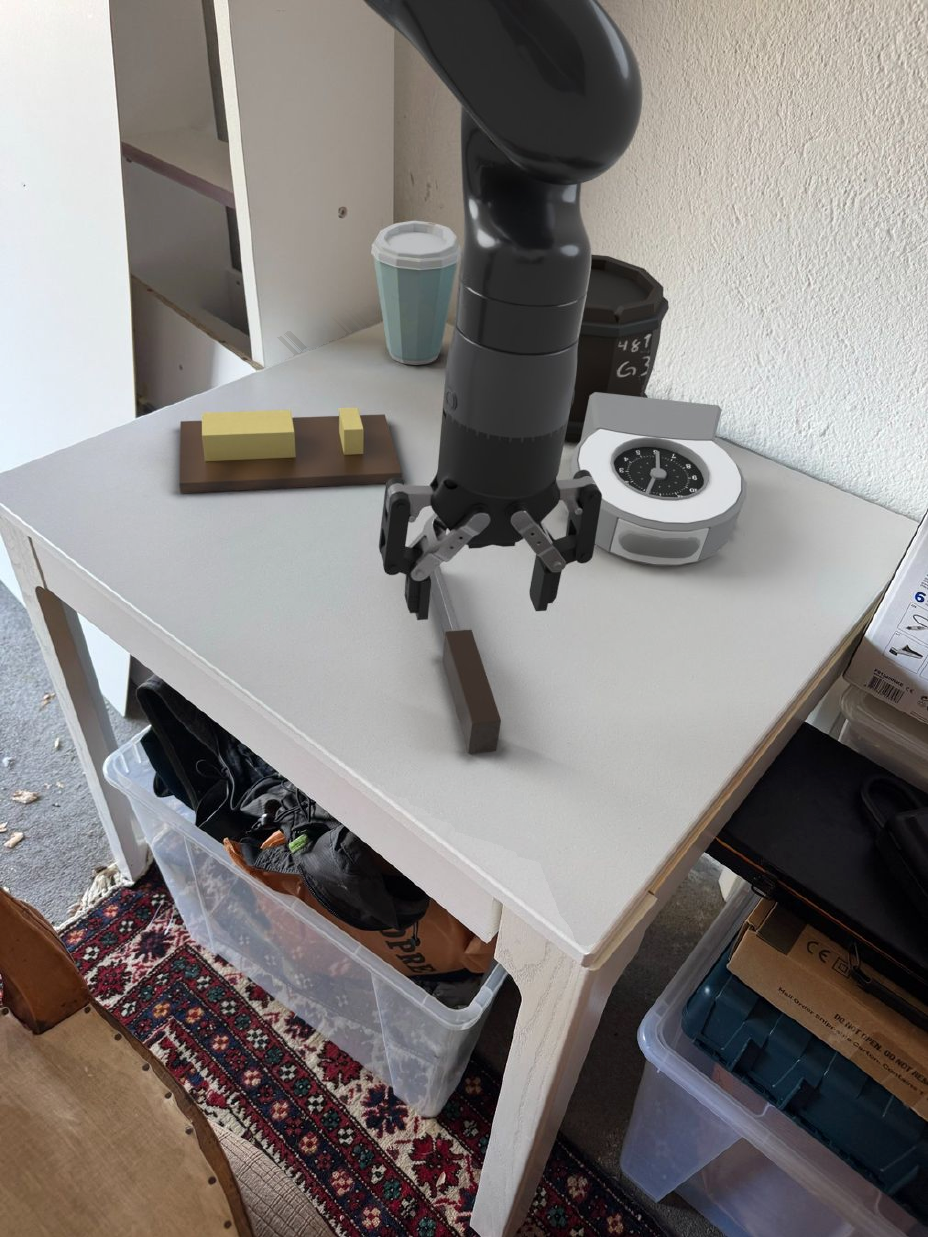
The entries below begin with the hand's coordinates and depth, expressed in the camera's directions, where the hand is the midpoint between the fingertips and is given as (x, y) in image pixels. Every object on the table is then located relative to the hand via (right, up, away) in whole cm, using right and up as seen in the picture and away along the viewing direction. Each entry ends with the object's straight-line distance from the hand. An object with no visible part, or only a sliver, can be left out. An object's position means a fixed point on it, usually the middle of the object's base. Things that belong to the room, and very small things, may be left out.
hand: (479, 608), depth 65 cm
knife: (-2, -4, +12) cm, 13 cm away
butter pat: (-13, +18, +33) cm, 40 cm away
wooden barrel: (+11, +24, +45) cm, 52 cm away
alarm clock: (+18, +10, +30) cm, 36 cm away
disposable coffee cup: (-8, +33, +53) cm, 62 cm away
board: (-20, +16, +32) cm, 41 cm away
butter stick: (-23, +17, +31) cm, 42 cm away
